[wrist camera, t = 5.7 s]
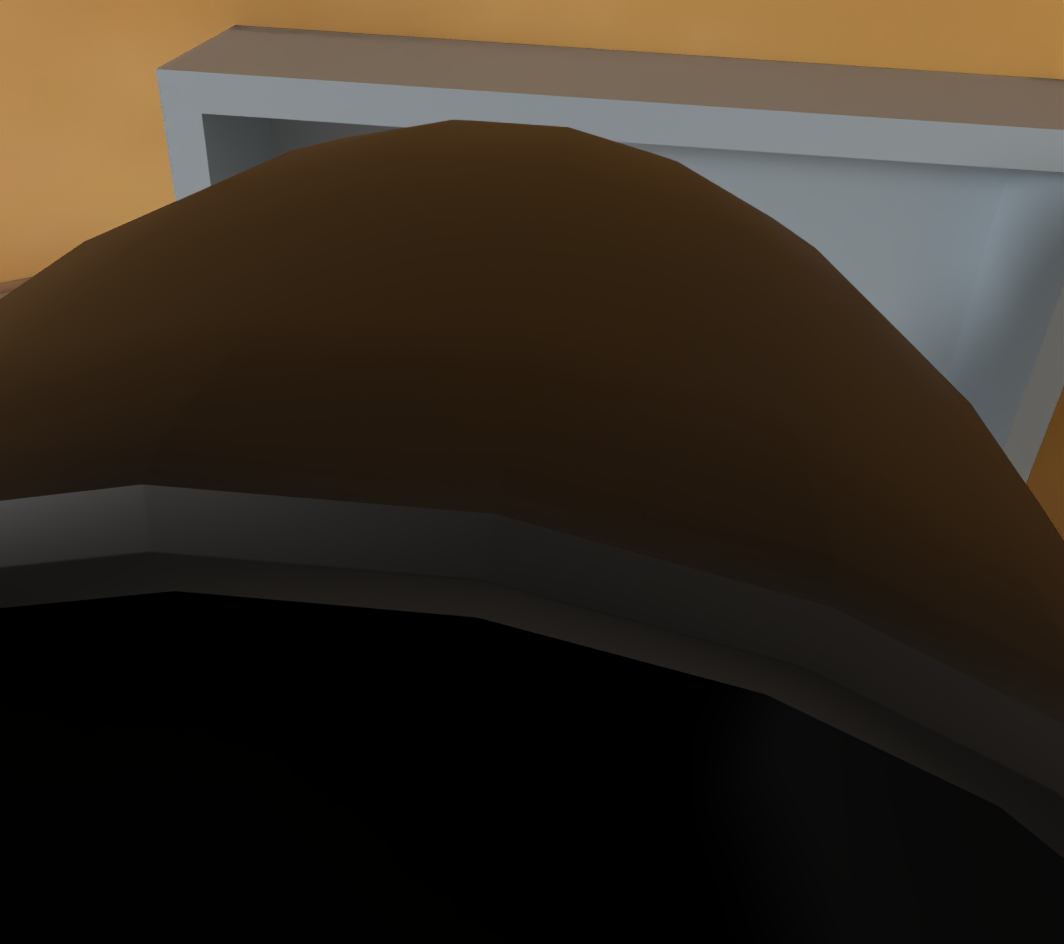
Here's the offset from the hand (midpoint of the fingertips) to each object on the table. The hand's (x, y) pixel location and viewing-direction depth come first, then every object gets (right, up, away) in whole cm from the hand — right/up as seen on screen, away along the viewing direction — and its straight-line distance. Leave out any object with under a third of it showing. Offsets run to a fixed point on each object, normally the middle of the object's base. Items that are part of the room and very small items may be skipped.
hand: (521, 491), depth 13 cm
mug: (+1, 0, 0) cm, 1 cm away
